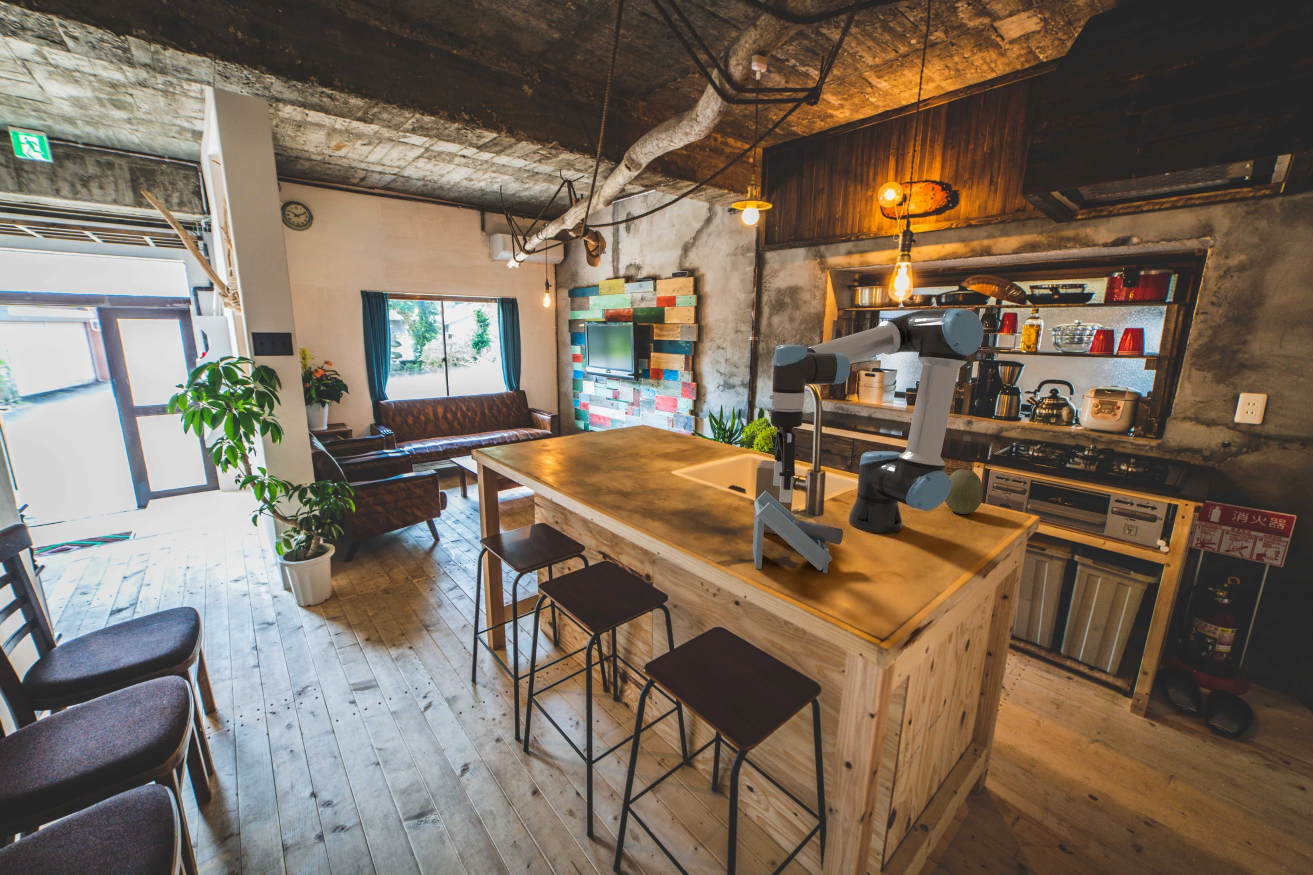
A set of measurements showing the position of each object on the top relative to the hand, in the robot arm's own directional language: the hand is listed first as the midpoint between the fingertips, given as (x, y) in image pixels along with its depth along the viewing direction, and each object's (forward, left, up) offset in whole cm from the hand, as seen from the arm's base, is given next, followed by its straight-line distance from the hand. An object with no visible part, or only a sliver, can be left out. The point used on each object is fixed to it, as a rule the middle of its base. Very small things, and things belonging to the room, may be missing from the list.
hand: (781, 493), depth 128 cm
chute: (-3, 0, -18) cm, 18 cm away
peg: (-3, 0, -9) cm, 9 cm away
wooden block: (-1, -23, -18) cm, 29 cm away
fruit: (-65, -47, -18) cm, 82 cm away
